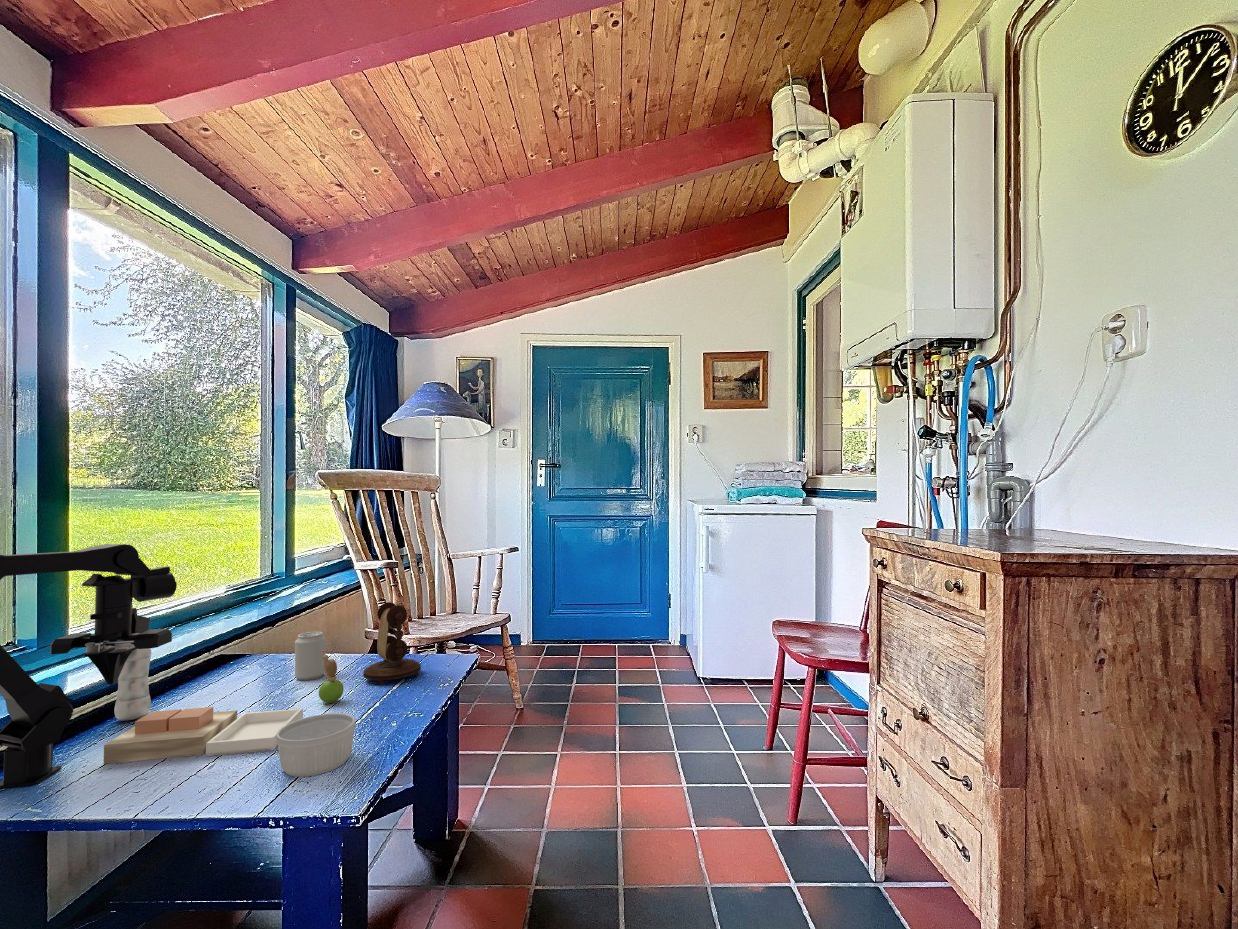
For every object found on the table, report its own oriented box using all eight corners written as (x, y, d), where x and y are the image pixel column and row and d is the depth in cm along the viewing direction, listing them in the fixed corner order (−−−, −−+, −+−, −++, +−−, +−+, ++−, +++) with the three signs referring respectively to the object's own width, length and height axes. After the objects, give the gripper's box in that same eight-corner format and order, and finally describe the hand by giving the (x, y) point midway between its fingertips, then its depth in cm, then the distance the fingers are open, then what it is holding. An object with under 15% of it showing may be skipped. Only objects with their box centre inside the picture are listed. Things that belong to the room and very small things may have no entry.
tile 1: (165, 732, 116) (166, 719, 116) (134, 734, 115) (135, 721, 116) (181, 721, 122) (181, 709, 122) (151, 723, 121) (152, 711, 121)
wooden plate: (202, 754, 113) (203, 736, 114) (103, 763, 111) (104, 744, 111) (236, 726, 127) (237, 710, 127) (149, 734, 124) (149, 717, 125)
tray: (273, 750, 115) (273, 737, 115) (205, 756, 113) (206, 743, 113) (302, 719, 130) (302, 708, 131) (244, 724, 128) (244, 713, 129)
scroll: (355, 677, 161) (355, 604, 162) (408, 666, 171) (407, 597, 172) (374, 690, 150) (374, 611, 151) (429, 677, 160) (429, 603, 161)
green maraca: (335, 696, 146) (335, 647, 146) (347, 701, 142) (347, 651, 142) (312, 702, 142) (312, 652, 142) (324, 708, 138) (324, 656, 138)
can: (296, 675, 164) (296, 632, 165) (325, 671, 167) (325, 629, 168) (293, 683, 157) (293, 637, 158) (324, 678, 160) (324, 634, 161)
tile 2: (199, 729, 117) (199, 716, 117) (168, 731, 116) (168, 719, 117) (213, 719, 123) (213, 706, 123) (184, 721, 122) (184, 709, 122)
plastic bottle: (130, 725, 130) (132, 634, 131) (105, 723, 131) (107, 633, 132) (158, 714, 136) (160, 627, 137) (135, 713, 137) (136, 627, 138)
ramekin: (258, 779, 103) (258, 739, 103) (307, 747, 116) (307, 711, 116) (327, 782, 101) (327, 741, 102) (369, 749, 114) (369, 713, 115)
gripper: (187, 597, 128) (186, 669, 127) (90, 601, 125) (88, 675, 124) (156, 606, 117) (154, 685, 116) (49, 611, 114) (46, 693, 113)
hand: (112, 684), depth 118 cm, fingers closed
